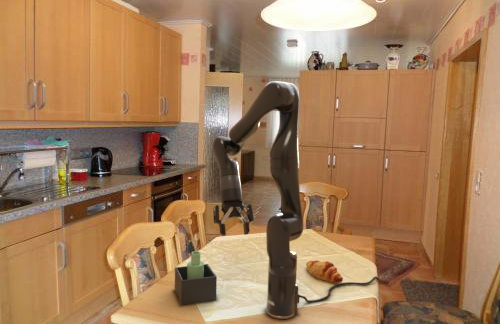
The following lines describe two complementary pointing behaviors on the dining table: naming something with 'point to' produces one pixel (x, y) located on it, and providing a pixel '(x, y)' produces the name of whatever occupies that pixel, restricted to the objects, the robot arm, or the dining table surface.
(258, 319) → the dining table surface
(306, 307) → the dining table surface
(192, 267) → the bottle
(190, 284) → the bin
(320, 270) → the croissant
